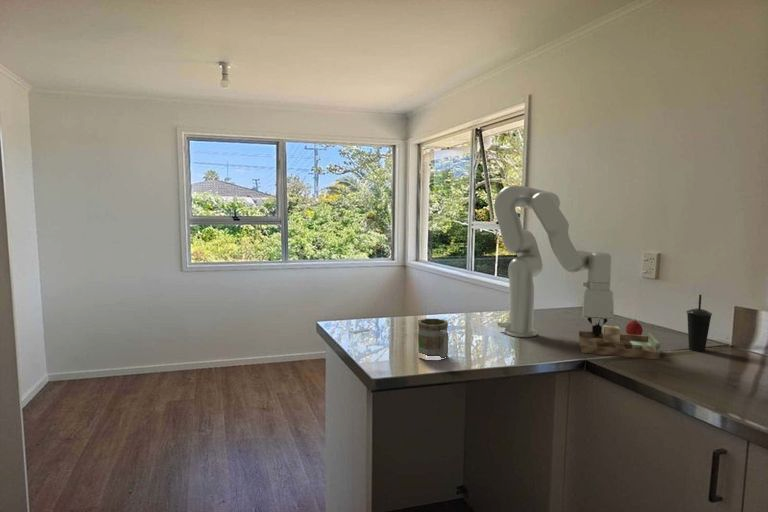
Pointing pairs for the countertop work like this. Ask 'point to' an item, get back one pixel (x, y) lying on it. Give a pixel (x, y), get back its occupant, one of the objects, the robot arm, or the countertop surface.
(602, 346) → the track
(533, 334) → the robot arm
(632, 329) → the onion
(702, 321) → the drinking cup
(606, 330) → the block
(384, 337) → the countertop surface
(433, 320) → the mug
